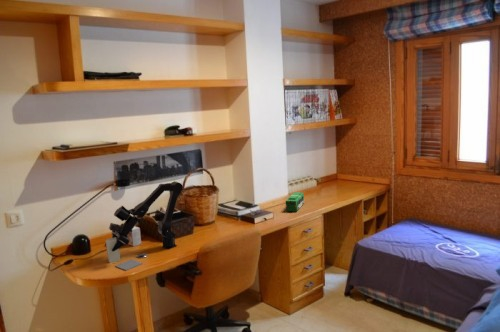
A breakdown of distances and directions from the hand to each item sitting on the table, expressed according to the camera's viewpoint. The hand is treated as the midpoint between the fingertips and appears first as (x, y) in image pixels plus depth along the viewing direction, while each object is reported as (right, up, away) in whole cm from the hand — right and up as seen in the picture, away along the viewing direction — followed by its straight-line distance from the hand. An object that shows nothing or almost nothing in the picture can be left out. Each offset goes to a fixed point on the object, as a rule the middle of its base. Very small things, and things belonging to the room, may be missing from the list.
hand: (110, 248), depth 222 cm
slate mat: (+12, -7, -7) cm, 16 cm away
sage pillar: (+1, -7, +2) cm, 7 cm away
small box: (+5, -3, +27) cm, 27 cm away
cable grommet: (+16, -5, +5) cm, 18 cm away
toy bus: (+111, +13, +85) cm, 141 cm away
